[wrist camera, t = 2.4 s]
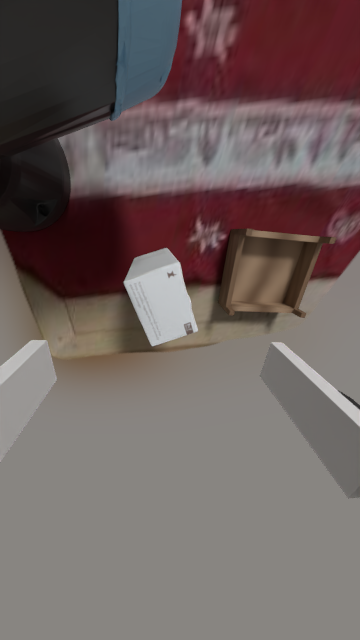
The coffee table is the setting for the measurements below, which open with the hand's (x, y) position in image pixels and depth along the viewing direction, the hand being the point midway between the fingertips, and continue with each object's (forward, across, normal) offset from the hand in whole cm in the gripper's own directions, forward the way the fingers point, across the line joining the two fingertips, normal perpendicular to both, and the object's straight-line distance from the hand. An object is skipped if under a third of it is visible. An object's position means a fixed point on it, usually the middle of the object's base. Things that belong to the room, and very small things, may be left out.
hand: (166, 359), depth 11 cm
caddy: (+23, +18, +2) cm, 29 cm away
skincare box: (+23, 0, 0) cm, 23 cm away
